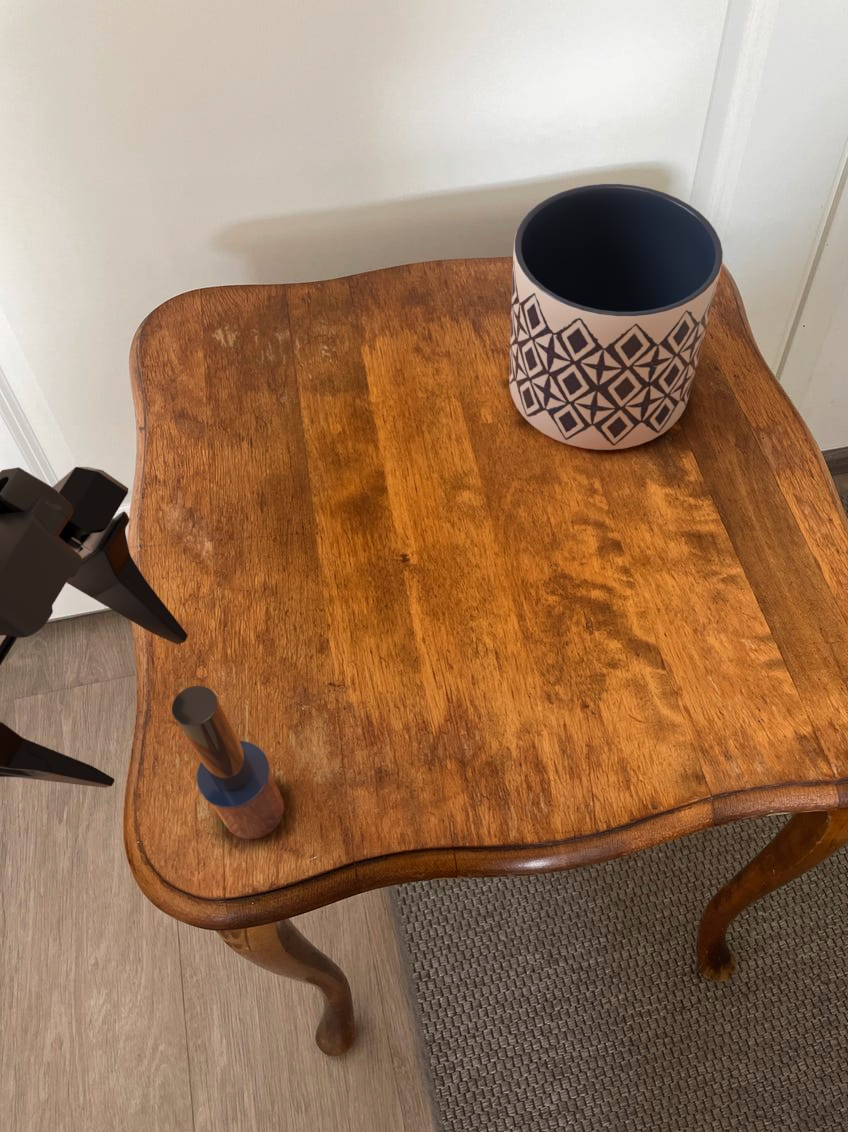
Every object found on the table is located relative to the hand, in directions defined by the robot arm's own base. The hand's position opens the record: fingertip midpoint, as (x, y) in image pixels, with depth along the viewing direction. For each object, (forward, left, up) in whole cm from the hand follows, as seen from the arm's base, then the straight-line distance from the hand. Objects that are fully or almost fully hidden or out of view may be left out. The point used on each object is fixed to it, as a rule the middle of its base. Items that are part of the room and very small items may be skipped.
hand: (148, 709), depth 52 cm
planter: (+33, +36, -13) cm, 50 cm away
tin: (+3, -1, -13) cm, 14 cm away
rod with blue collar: (+3, -1, -7) cm, 8 cm away
